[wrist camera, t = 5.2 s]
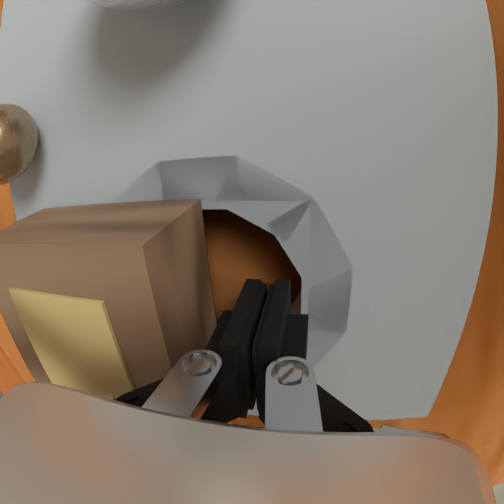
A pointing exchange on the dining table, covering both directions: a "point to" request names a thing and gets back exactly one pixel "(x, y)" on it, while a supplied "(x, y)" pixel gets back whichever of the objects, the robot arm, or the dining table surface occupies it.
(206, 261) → the walnut cover
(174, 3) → the steel boule
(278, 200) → the hole board
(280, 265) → the dining table surface
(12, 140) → the bronze ball
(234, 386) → the robot arm
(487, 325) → the dining table surface
